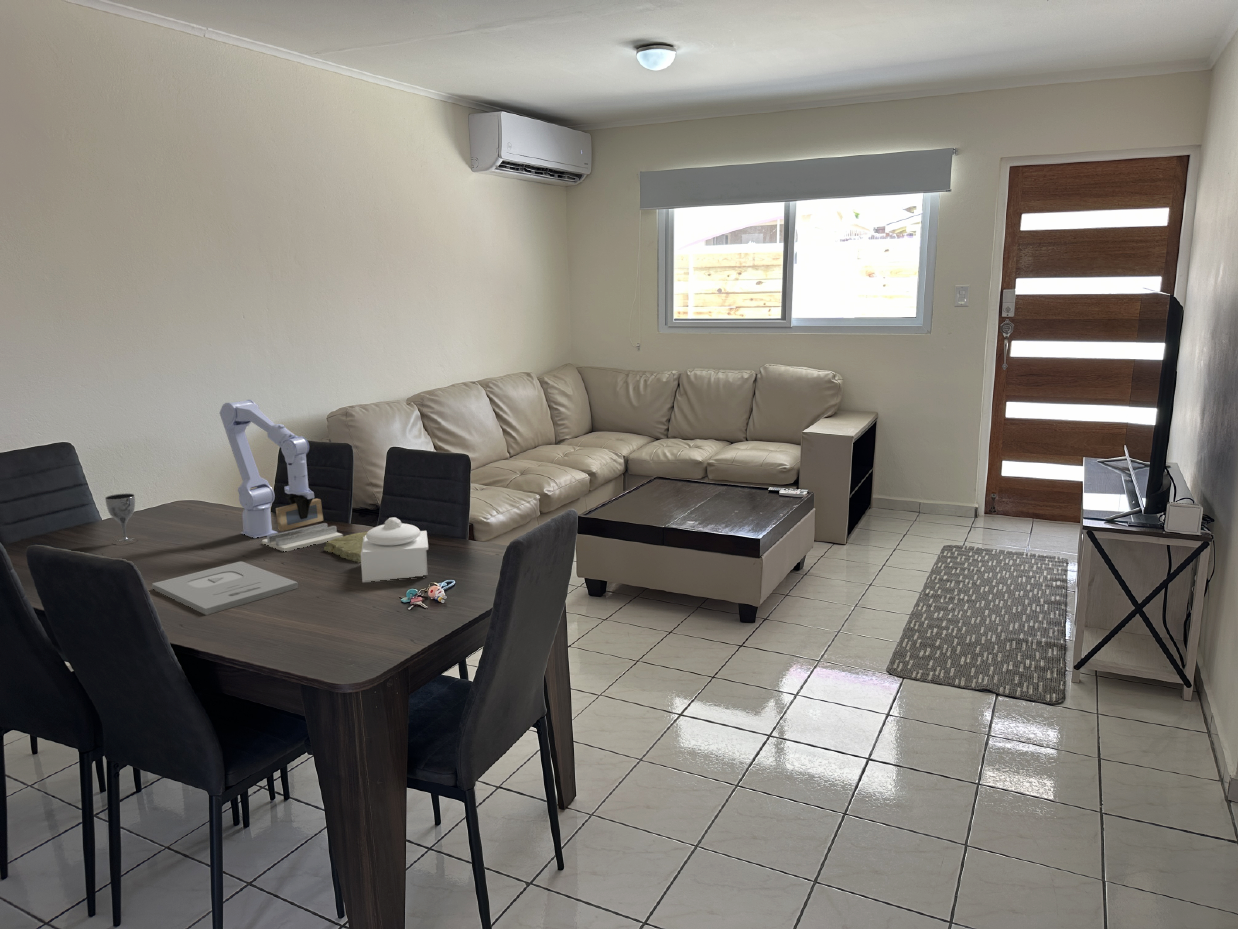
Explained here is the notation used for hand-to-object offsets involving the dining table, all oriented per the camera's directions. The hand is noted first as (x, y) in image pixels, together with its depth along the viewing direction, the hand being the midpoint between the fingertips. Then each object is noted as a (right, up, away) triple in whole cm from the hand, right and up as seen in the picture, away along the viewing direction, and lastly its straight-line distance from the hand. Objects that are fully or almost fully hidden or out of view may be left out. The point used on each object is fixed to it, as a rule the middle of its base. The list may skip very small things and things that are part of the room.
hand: (301, 517), depth 268 cm
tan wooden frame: (0, -2, 0) cm, 2 cm away
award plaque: (-4, -17, -43) cm, 46 cm away
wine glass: (-57, -8, +1) cm, 57 cm away
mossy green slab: (+23, -10, -8) cm, 26 cm away
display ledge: (0, -8, +1) cm, 8 cm away
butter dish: (+38, -14, -28) cm, 49 cm away
